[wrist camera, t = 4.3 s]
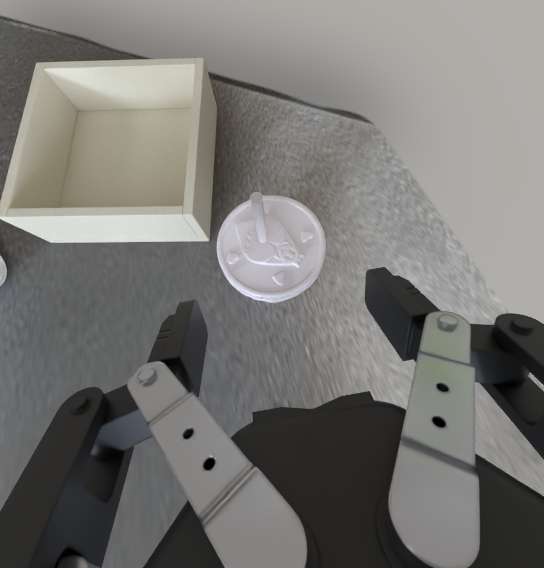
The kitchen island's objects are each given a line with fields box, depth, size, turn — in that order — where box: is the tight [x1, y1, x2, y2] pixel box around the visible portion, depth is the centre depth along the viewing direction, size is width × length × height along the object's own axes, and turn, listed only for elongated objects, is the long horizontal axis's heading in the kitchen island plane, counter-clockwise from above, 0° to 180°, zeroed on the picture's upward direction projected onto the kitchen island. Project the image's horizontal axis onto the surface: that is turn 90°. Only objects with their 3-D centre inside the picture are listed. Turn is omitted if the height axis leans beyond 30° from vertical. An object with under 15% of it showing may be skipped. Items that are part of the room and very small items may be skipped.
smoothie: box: [217, 192, 326, 303], centre depth 18 cm, size 6×6×14 cm
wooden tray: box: [0, 58, 217, 243], centre depth 25 cm, size 16×16×5 cm
